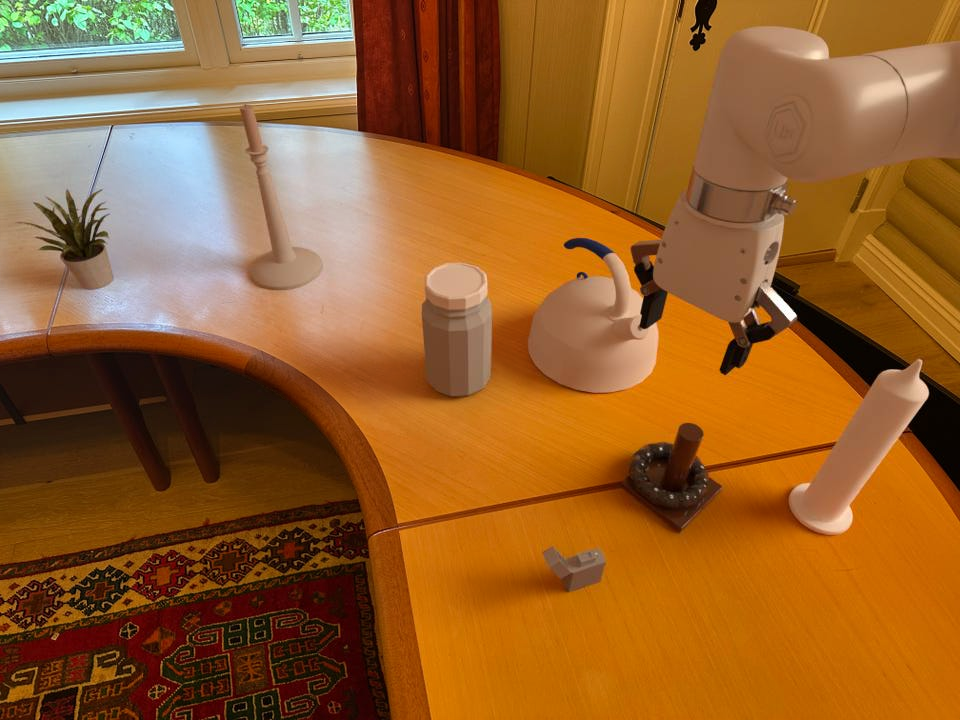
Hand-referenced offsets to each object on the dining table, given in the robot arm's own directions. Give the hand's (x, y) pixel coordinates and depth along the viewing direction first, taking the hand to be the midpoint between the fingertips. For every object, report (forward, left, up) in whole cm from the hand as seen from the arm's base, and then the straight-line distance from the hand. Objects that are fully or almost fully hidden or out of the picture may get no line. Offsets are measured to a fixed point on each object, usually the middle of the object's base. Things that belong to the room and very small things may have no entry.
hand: (688, 344), depth 63 cm
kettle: (+21, -13, -22) cm, 33 cm away
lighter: (-3, +19, -22) cm, 29 cm away
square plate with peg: (-3, 0, -22) cm, 22 cm away
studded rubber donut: (-2, 0, -20) cm, 20 cm away
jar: (+30, +7, -22) cm, 38 cm away
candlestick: (+73, +12, -22) cm, 77 cm away
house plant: (+92, +38, -22) cm, 102 cm away
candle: (-17, -11, -22) cm, 30 cm away
